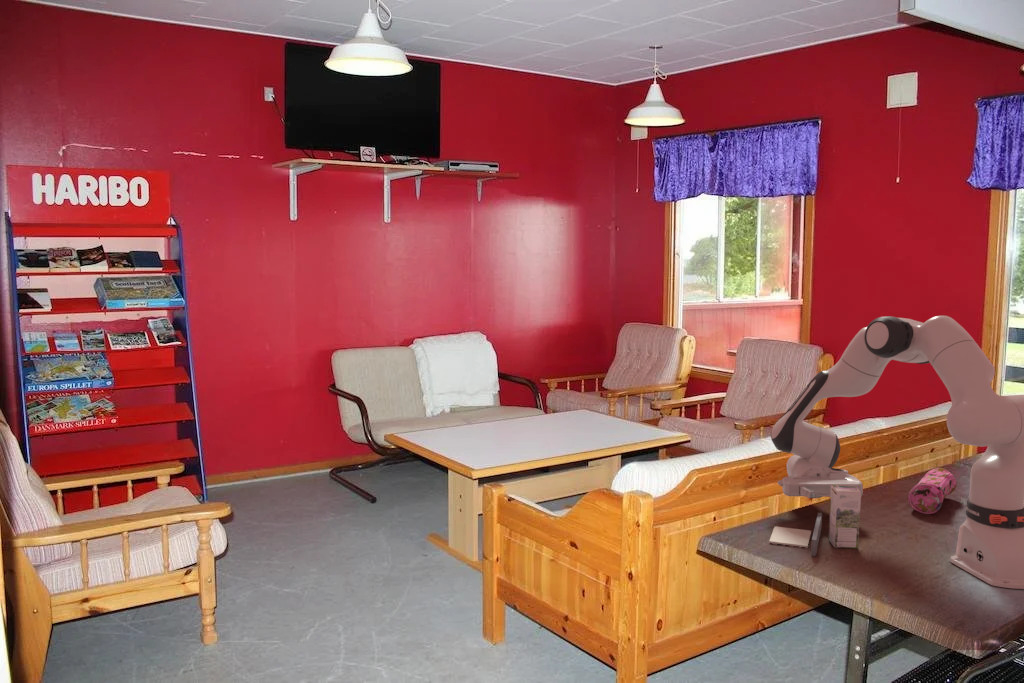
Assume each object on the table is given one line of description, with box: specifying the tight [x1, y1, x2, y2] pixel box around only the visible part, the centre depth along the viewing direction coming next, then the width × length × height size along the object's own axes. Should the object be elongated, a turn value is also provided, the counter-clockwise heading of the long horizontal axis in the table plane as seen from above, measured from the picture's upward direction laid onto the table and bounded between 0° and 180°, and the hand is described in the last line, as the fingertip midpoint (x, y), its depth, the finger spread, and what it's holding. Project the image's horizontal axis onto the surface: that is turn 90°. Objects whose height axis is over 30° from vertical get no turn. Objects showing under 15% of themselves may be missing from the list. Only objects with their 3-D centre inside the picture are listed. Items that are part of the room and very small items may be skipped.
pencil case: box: [907, 467, 958, 515], centre depth 243 cm, size 21×9×9 cm, turn 144°
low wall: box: [810, 512, 823, 557], centre depth 214 cm, size 1×22×4 cm, turn 157°
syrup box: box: [828, 485, 862, 549], centre depth 211 cm, size 6×6×14 cm
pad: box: [768, 525, 812, 549], centre depth 217 cm, size 9×12×1 cm
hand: (830, 495), depth 222 cm, fingers open, 8 cm apart
